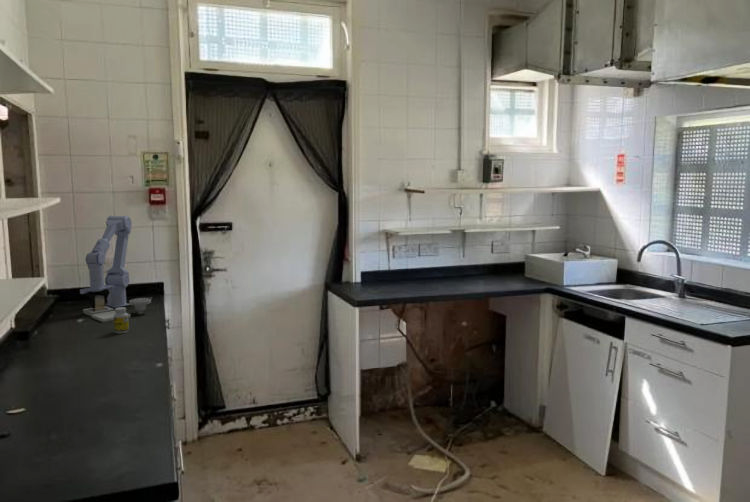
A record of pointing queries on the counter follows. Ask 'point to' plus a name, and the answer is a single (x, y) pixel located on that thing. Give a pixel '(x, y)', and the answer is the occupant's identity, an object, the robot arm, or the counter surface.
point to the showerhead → (140, 304)
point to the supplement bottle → (121, 320)
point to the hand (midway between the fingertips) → (98, 306)
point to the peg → (99, 303)
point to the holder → (90, 312)
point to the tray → (106, 316)
